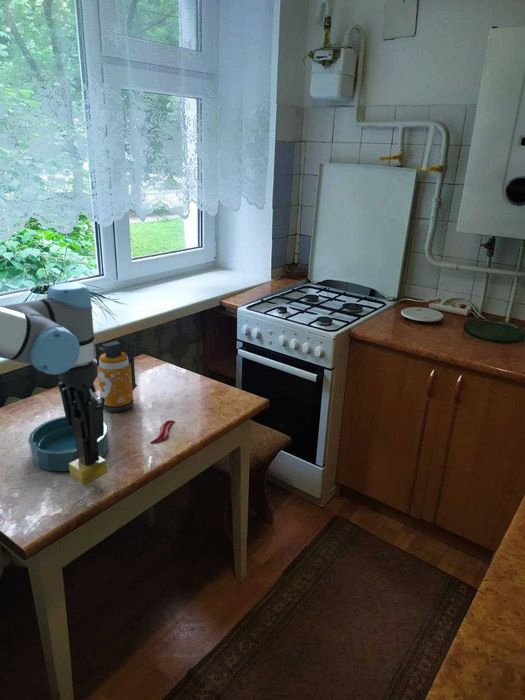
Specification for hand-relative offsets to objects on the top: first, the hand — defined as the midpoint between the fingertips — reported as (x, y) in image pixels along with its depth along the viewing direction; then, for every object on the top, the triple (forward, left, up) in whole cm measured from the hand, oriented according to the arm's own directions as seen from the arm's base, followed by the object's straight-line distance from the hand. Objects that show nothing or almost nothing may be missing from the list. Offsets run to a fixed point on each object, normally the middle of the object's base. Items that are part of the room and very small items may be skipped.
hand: (88, 459), depth 108 cm
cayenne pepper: (+25, +4, -6) cm, 26 cm away
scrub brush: (0, 0, -4) cm, 4 cm away
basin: (+4, +14, -6) cm, 16 cm away
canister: (+27, +25, -6) cm, 37 cm away
